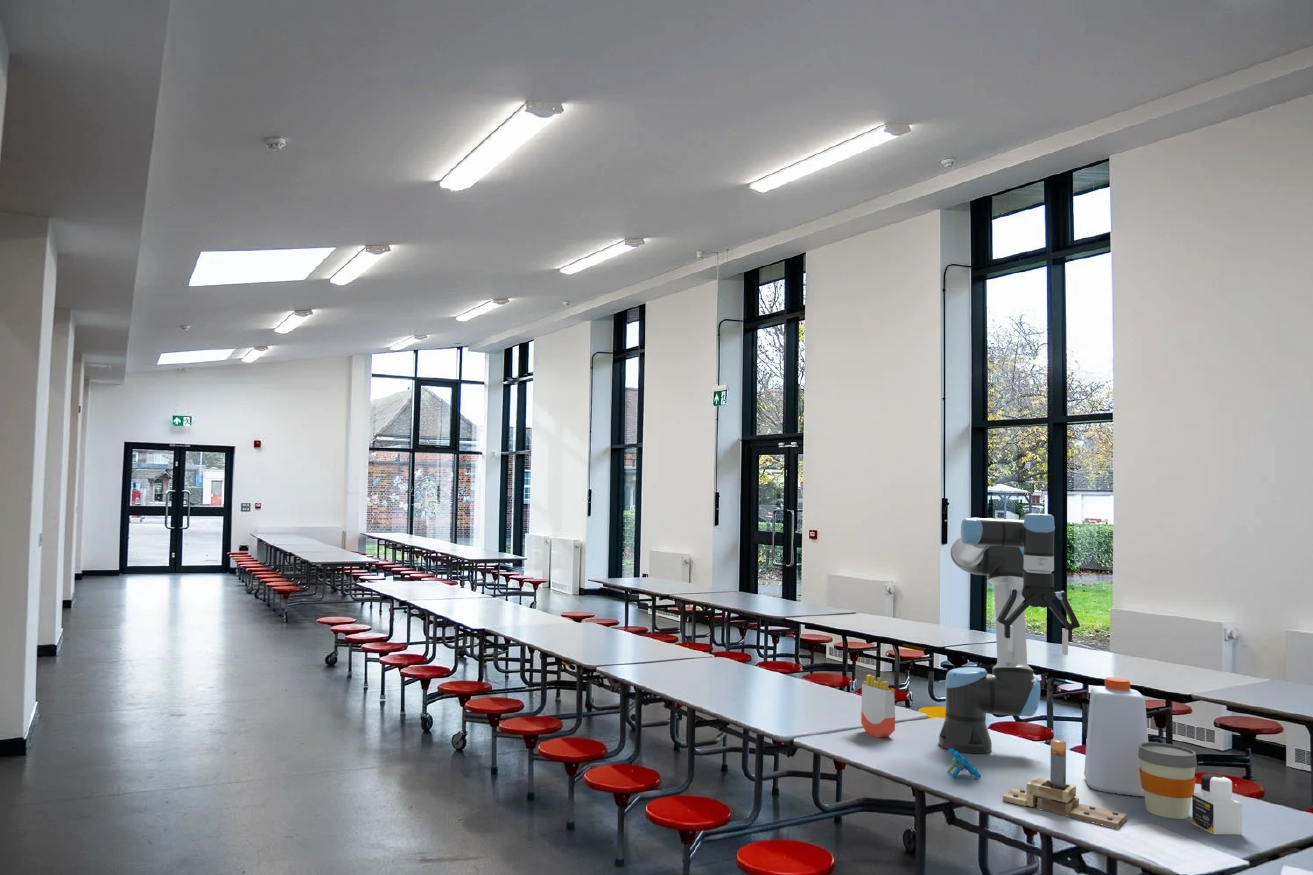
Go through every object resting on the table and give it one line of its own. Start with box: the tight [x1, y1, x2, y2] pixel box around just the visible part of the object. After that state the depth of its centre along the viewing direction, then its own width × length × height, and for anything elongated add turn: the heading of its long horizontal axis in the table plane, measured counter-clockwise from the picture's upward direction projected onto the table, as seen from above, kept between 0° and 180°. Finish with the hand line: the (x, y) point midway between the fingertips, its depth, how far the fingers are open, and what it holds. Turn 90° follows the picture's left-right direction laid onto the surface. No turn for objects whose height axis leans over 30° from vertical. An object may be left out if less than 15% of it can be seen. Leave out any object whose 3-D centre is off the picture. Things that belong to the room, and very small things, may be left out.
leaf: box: [1002, 776, 1077, 808], centre depth 220 cm, size 9×15×5 cm, turn 50°
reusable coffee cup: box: [1138, 742, 1198, 820], centre depth 218 cm, size 13×13×15 cm
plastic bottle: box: [1083, 677, 1149, 798], centre depth 238 cm, size 15×15×28 cm
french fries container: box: [860, 674, 896, 739], centre depth 283 cm, size 5×11×18 cm, turn 28°
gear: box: [946, 748, 982, 779], centre depth 240 cm, size 11×6×10 cm
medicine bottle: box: [1191, 773, 1243, 836], centre depth 207 cm, size 7×7×12 cm
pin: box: [1049, 739, 1067, 803], centre depth 217 cm, size 3×3×16 cm
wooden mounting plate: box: [1037, 796, 1128, 830], centre depth 214 cm, size 9×18×3 cm, turn 50°
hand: (1037, 652), depth 238 cm, fingers open, 13 cm apart
